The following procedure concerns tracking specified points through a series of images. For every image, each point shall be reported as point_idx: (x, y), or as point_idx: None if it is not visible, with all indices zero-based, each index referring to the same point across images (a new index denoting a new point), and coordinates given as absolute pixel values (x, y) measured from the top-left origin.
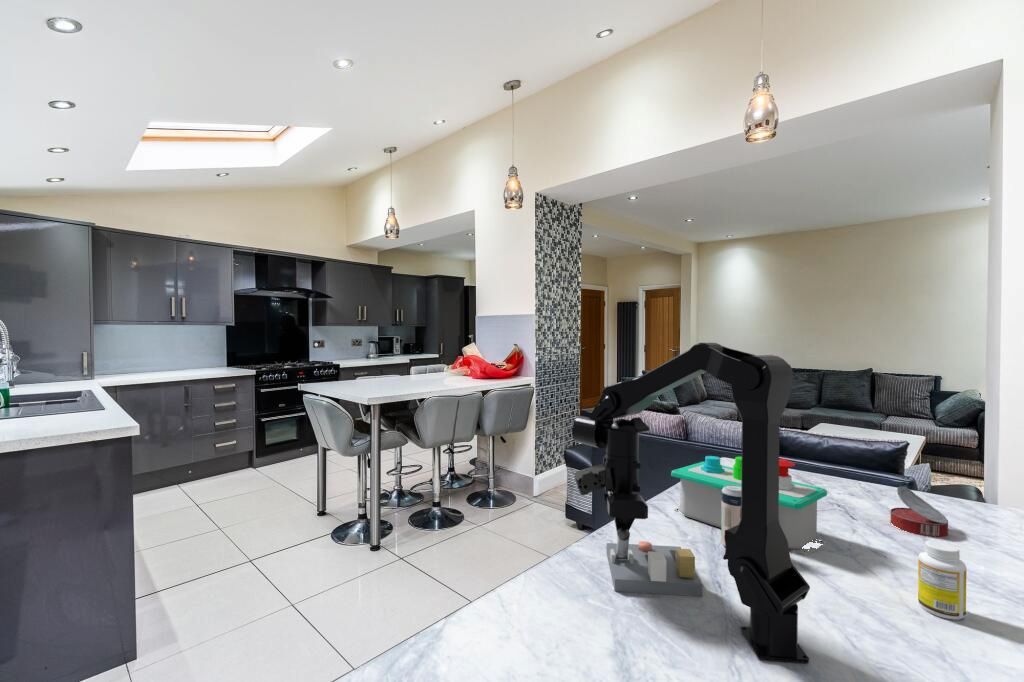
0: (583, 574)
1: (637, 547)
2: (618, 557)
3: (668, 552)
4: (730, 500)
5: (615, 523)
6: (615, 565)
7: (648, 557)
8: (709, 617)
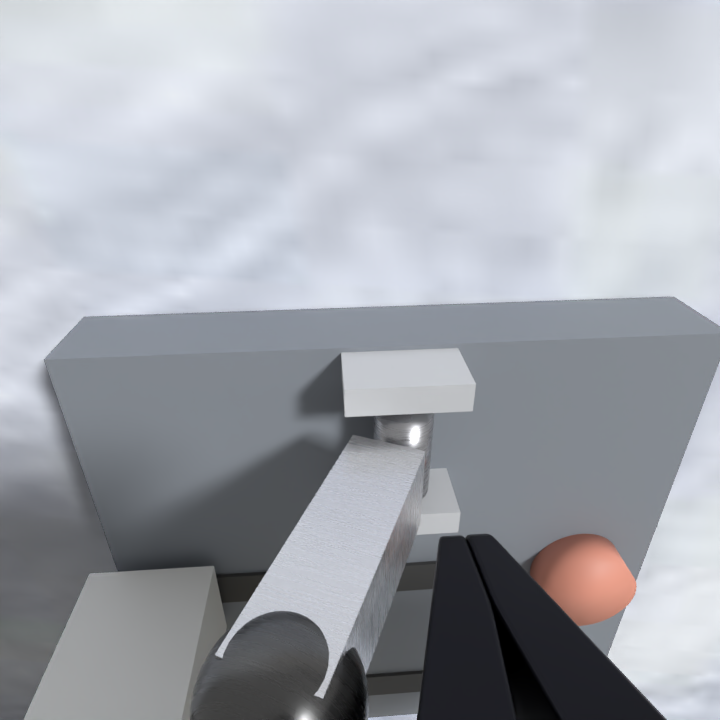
0: (292, 70)
1: (605, 529)
2: (375, 422)
3: None
4: None
5: (507, 711)
6: (291, 378)
7: (164, 678)
8: (14, 672)
